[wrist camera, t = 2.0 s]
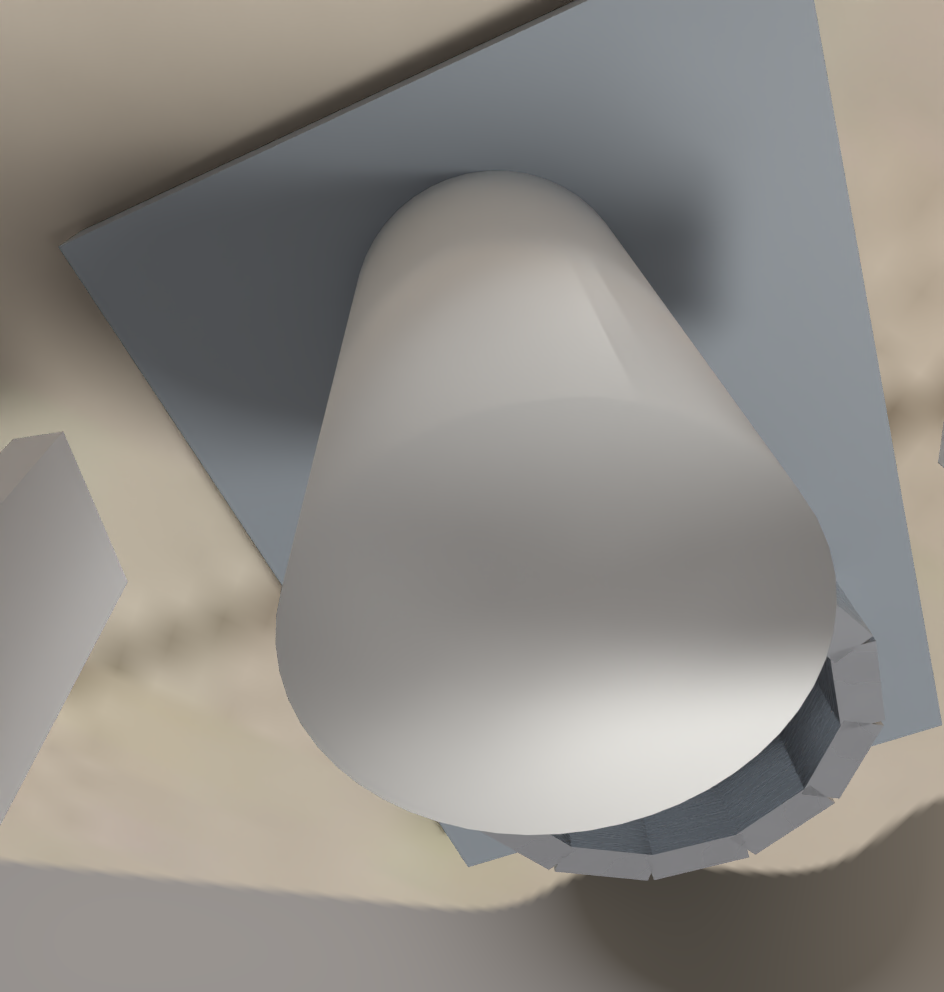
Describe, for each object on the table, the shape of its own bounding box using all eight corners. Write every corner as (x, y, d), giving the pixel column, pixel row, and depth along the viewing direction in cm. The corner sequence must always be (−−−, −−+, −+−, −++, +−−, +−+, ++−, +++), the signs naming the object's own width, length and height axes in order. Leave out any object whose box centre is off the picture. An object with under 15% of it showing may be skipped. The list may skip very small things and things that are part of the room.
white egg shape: (376, 142, 15) (305, 343, 7) (668, 203, 16) (937, 454, 8) (336, 427, 18) (252, 823, 10) (586, 467, 19) (715, 869, 10)
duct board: (80, 231, 17) (54, 249, 16) (771, -92, 15) (801, -99, 14) (467, 833, 27) (468, 872, 26) (920, 694, 25) (946, 730, 23)
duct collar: (488, 464, 19) (495, 526, 17) (905, 532, 20) (961, 596, 18) (412, 778, 24) (410, 857, 22) (751, 815, 25) (781, 893, 23)
